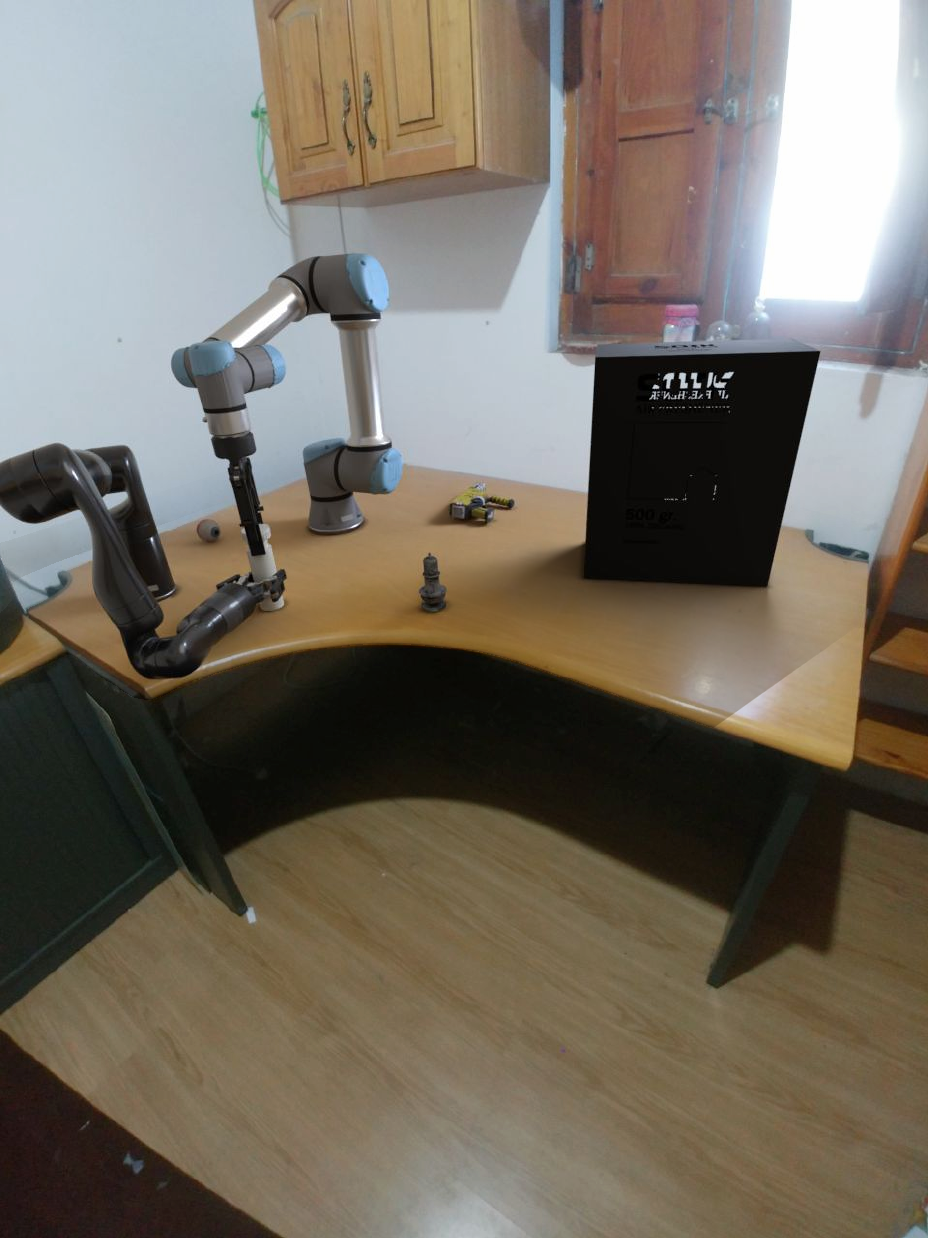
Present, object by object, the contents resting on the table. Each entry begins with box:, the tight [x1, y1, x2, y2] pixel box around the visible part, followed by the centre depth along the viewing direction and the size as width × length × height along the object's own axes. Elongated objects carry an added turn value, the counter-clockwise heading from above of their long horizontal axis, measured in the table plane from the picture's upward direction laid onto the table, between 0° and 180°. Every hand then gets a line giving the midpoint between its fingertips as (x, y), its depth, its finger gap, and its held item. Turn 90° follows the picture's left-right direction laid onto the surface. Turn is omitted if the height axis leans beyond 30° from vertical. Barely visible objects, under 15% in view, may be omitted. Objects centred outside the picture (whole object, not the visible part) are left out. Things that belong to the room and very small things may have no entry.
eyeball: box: [196, 518, 222, 543], centre depth 162 cm, size 6×6×6 cm
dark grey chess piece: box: [417, 551, 448, 613], centre depth 122 cm, size 6×6×12 cm
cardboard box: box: [583, 337, 821, 587], centre depth 126 cm, size 38×20×45 cm, turn 78°
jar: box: [245, 539, 285, 612], centre depth 126 cm, size 5×5×15 cm
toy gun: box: [448, 481, 515, 523], centre depth 173 cm, size 5×24×15 cm
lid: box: [240, 523, 272, 543], centre depth 121 cm, size 6×6×2 cm
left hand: (272, 572), depth 128 cm, fingers closed on jar, 5 cm apart
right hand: (259, 548), depth 123 cm, fingers closed on lid, 5 cm apart
